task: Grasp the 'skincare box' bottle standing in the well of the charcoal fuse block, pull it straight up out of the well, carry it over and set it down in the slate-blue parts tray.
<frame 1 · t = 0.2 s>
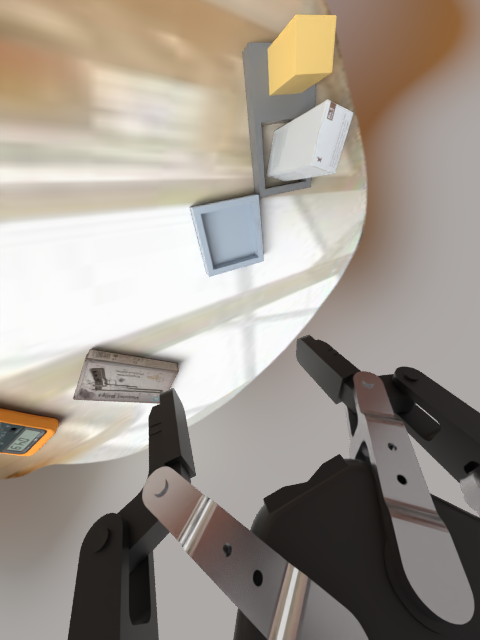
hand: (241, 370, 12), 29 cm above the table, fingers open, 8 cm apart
skincare box: (278, 156, 33), on the table
box: (130, 373, 44), on the table
fuse block: (279, 140, 32), on the table
tray: (228, 235, 36), on the table
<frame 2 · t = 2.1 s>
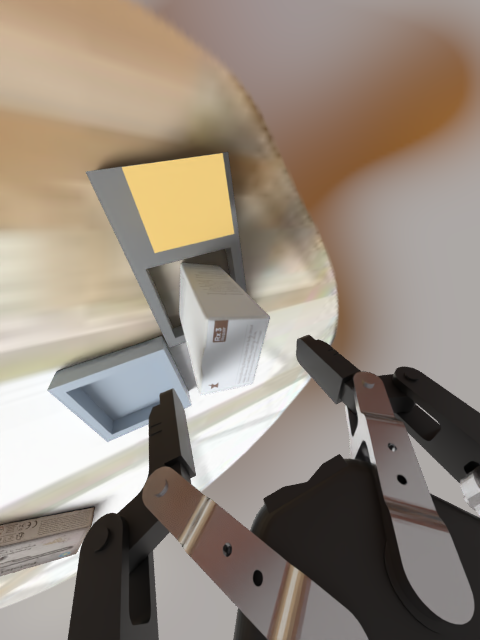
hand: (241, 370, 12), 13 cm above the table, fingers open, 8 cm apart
skincare box: (196, 287, 22), on the table
box: (26, 530, 33), on the table
fuse block: (192, 271, 21), on the table
tray: (134, 383, 26), on the table
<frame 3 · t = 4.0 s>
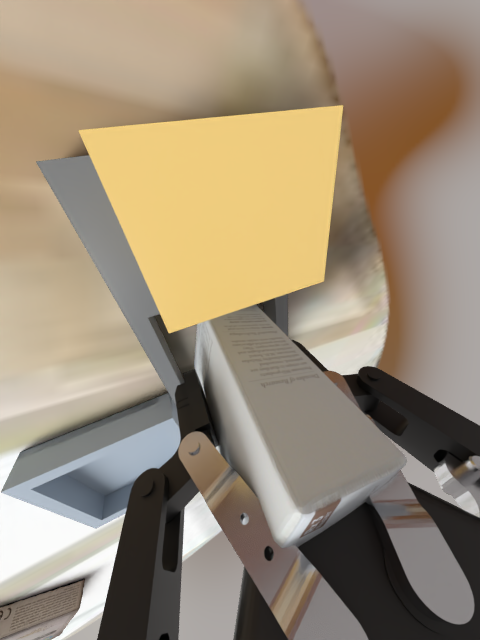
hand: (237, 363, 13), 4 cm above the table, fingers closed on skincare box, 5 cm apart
skincare box: (218, 328, 16), on the table, touching gripper
fuse block: (214, 309, 15), on the table
tray: (131, 449, 19), on the table
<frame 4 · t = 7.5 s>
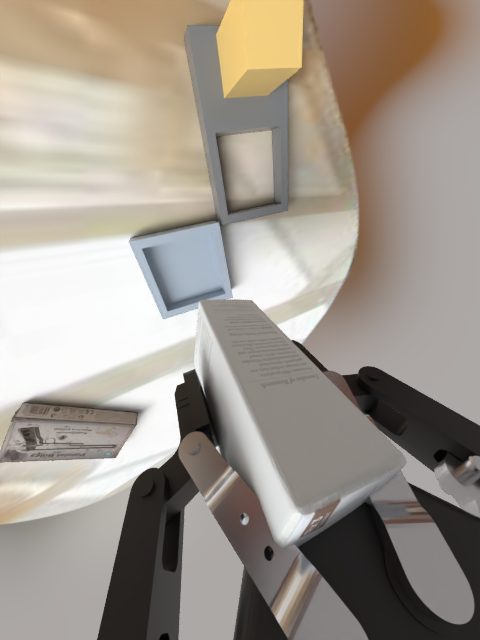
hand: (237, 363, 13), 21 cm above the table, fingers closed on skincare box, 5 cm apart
skincare box: (218, 329, 16), point 17 cm above the table, touching gripper
box: (78, 424, 37), on the table
fuse block: (244, 154, 25), on the table
tray: (186, 268, 29), on the table
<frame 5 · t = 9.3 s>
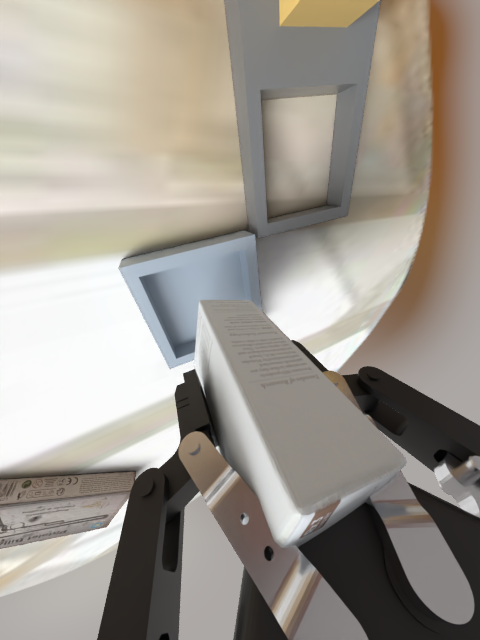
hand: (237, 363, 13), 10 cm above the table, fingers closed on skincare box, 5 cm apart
skincare box: (218, 329, 16), point 6 cm above the table, touching gripper
box: (58, 492, 29), on the table
fuse block: (294, 132, 17), on the table
tray: (202, 297, 21), on the table
when the fingers open (6 cm above the table, at t = 11.1 s): skincare box drops 1 cm, resting on tray.
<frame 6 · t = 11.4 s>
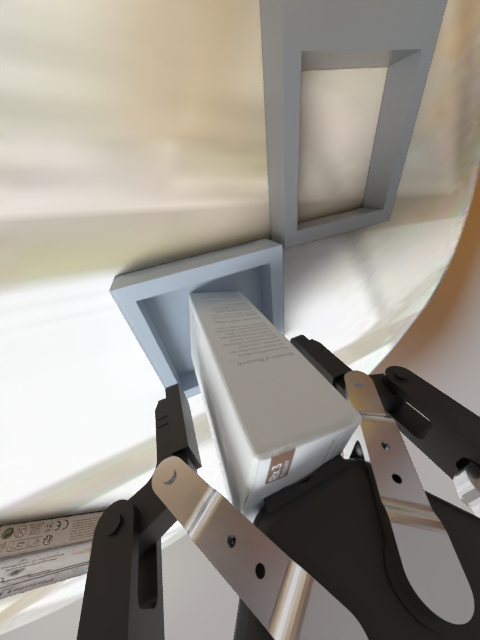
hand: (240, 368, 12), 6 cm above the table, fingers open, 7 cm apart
skincare box: (211, 320, 17), resting on tray
box: (45, 533, 25), on the table
fuse block: (333, 115, 13), on the table
tray: (213, 318, 17), on the table
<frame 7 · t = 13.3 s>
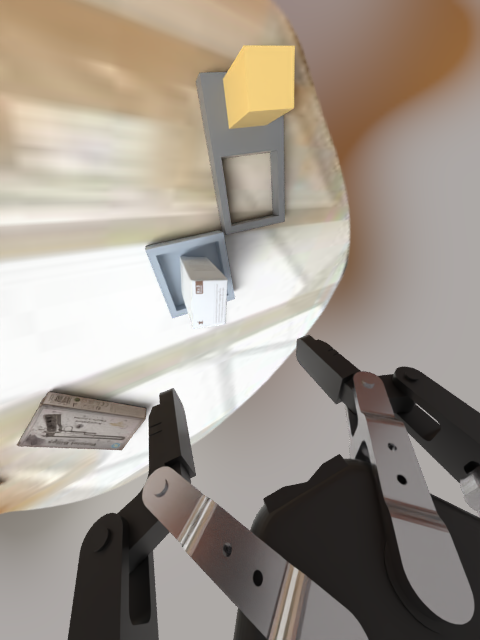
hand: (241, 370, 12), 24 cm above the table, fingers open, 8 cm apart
skincare box: (192, 273, 32), resting on tray
box: (91, 416, 40), on the table
fuse block: (246, 173, 29), on the table
tray: (193, 273, 33), on the table
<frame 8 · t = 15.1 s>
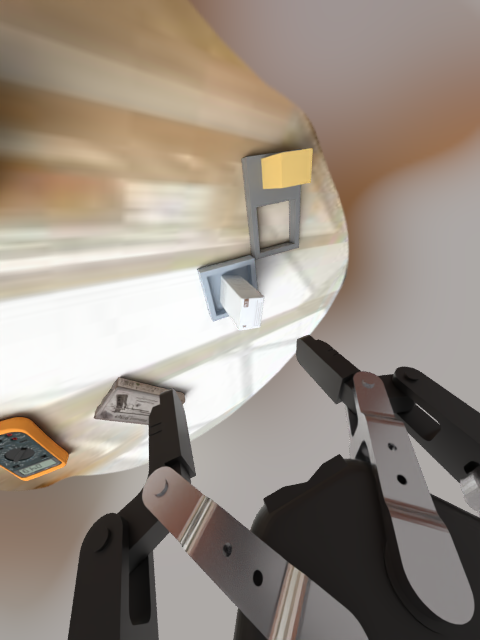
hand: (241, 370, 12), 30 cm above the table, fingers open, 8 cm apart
skincare box: (228, 287, 42), resting on tray
box: (143, 398, 51), on the table
fuse block: (271, 214, 39), on the table
multimeter: (29, 440, 44), on the table
tray: (228, 286, 43), on the table
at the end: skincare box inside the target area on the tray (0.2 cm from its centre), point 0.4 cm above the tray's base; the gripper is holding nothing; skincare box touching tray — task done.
